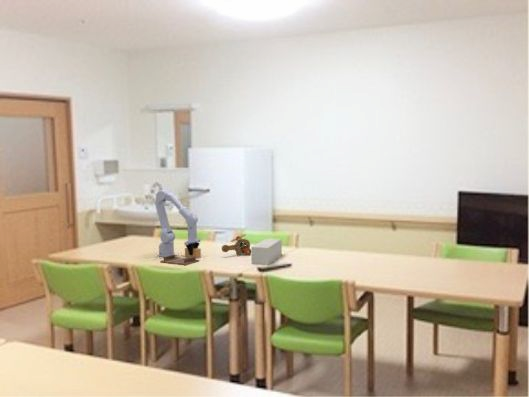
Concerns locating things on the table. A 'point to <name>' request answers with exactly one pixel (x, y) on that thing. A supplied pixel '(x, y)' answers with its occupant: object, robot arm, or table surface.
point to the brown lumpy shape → (236, 247)
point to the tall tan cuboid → (195, 253)
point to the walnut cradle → (179, 260)
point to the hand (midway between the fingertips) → (192, 254)
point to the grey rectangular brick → (266, 251)
